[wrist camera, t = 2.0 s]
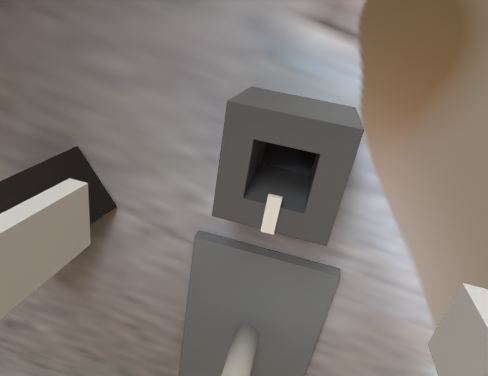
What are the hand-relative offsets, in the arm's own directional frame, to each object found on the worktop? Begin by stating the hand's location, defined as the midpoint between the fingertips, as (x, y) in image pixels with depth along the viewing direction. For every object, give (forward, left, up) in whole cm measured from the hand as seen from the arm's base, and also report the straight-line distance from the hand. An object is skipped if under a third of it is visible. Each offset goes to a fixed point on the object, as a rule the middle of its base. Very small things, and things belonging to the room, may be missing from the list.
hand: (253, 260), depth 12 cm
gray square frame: (0, 0, -13) cm, 13 cm away
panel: (+18, 0, -13) cm, 22 cm away
